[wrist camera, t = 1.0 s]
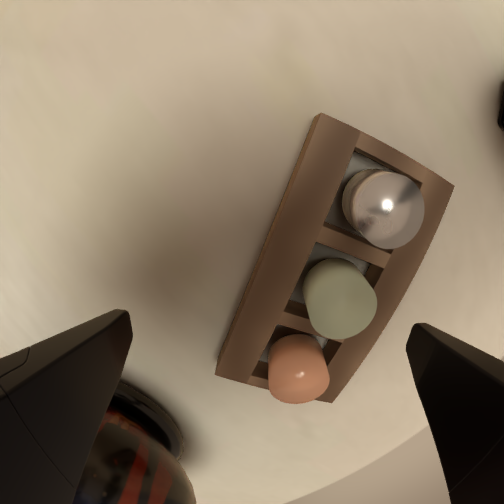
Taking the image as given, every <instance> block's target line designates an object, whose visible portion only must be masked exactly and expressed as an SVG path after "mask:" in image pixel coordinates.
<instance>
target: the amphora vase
mask: <svg viewBox="0 0 504 504" xmlns="http://www.w3.org/2000/svg"><path fill="white" fill-rule="evenodd" d="M183 448H184V447H183V437H182V435H181V433H180V432H179V430H178V428H177V426H176V424H175V423H174V422H173V421H172V420H171V418H170V417H169V416H168V415H167V414H166V413H165V412H164V411H163V410H162V409H161V408H160V407H159V406H157V405H156V404H155V403H154V402H152V401H151V400H150V399H148V398H147V397H146V396H144V395H142V394H141V393H139V392H137V391H136V390H134V389H132V388H131V387H129V386H127V385H125V384H123V383H121V382H118V385H117V387H116V389H115V391H114V394H113V396H112V398H111V401H110V403H109V405H108V408H107V410H106V413H105V415H104V418H103V420H102V422H101V425H100V427H99V430H98V432H97V435H96V437H95V440H94V443H93V445H92V448H91V450H90V453H89V456H88V458H87V461H86V464H85V467H84V469H83V472H82V475H81V478H80V481H79V483H78V486H77V489H75V490H76V493H75V496H74V499H73V502H72V504H196V498H195V495H194V491H193V487H192V484H191V482H190V480H189V478H188V476H187V475H186V473H185V471H184V469H183V468H182V466H181V465H180V464H179V462H178V460H179V459H180V457H181V455H182V453H183Z"/></svg>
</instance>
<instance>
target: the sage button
mask: <svg viewBox="0 0 504 504" xmlns="http://www.w3.org/2000/svg"><path fill="white" fill-rule="evenodd" d="M303 296H304V299H305V303H306V307H307V311H308V314H309V318H310V321H311V324H312V326H313V328H314V329H315V330H316V331H317V332H318V333H319V334H320V335H322V336H324V337H327V338H330V339H345V338H349V337H352V336H354V335H356V334H358V333H360V332H361V331H363V330H364V329H365V328H366V327H367V326H368V325H369V324H370V322H371V321H372V319H373V318H374V316H375V313H376V309H377V297H376V294H375V292H374V290H373V288H372V287H371V286H370V284H369V283H368V282H367V280H366V279H365V278H364V276H363V275H362V274H361V272H360V271H359V270H358V268H357V267H356V266H355V265H354V264H353V263H351V262H350V261H348V260H345V259H341V258H331V259H326V260H324V261H321V262H319V263H318V264H316V265H315V266H314V267H313V268H312V269H311V270H310V271H309V272H308V274H307V275H306V277H305V280H304V283H303Z"/></svg>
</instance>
